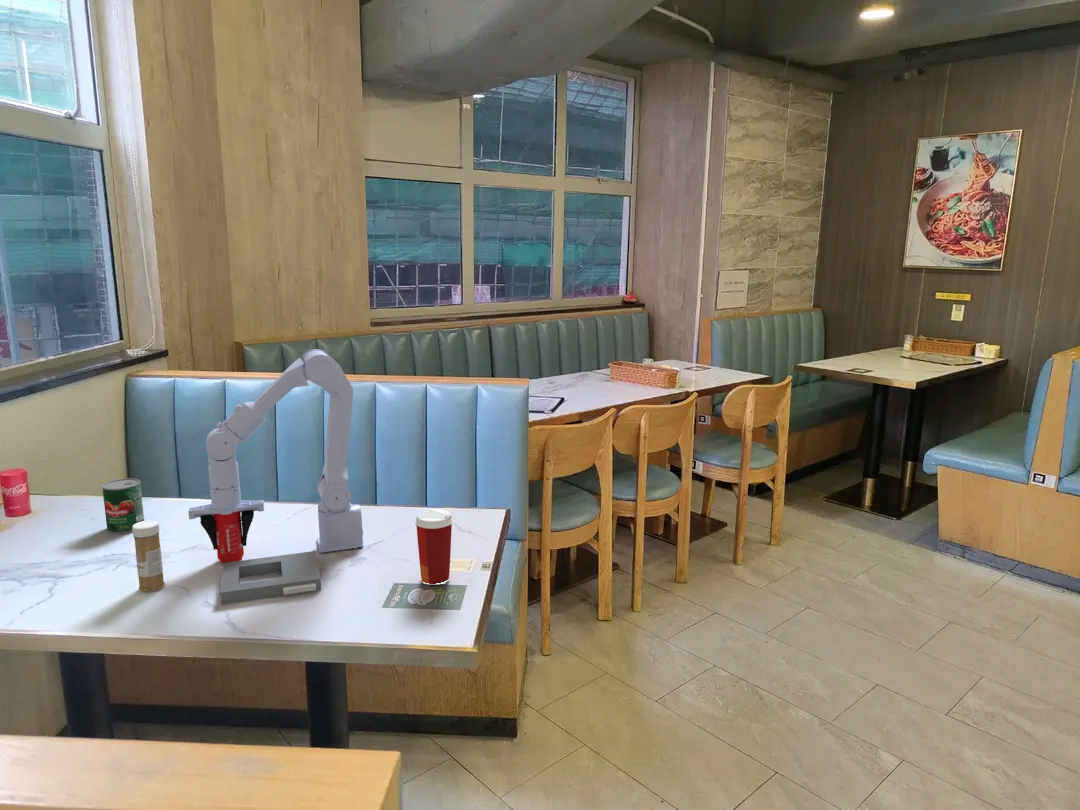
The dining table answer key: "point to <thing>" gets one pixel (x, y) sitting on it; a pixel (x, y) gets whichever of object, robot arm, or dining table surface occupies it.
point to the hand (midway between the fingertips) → (230, 546)
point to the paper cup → (434, 544)
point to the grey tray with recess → (295, 579)
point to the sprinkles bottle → (148, 555)
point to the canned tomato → (122, 505)
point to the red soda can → (229, 537)
